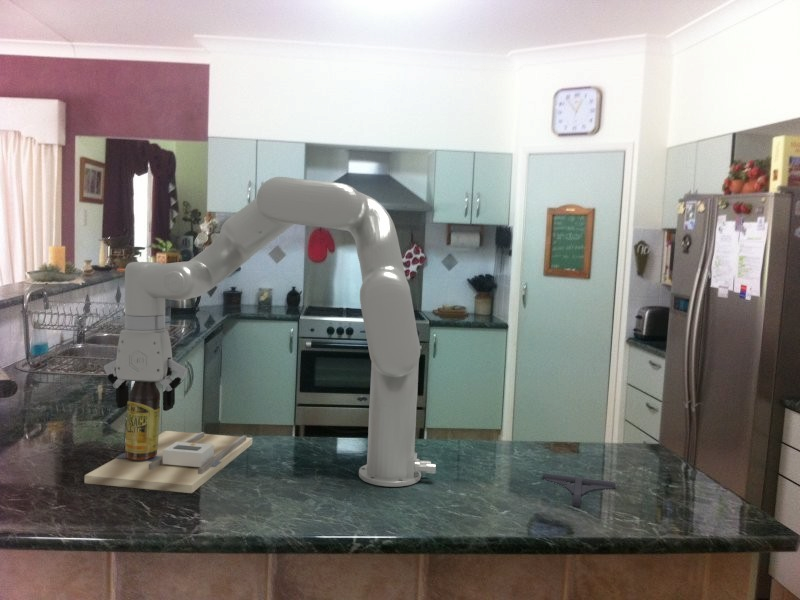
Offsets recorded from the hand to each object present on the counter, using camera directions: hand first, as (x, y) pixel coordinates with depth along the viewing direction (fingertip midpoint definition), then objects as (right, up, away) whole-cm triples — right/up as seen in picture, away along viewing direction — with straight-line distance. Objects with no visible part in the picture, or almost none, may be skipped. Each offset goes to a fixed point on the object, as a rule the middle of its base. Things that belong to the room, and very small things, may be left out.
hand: (145, 407), depth 136 cm
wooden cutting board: (+5, -12, +4) cm, 14 cm away
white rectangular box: (+9, -11, -1) cm, 14 cm away
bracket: (+86, -17, -4) cm, 88 cm away
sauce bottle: (-1, -10, +1) cm, 10 cm away
